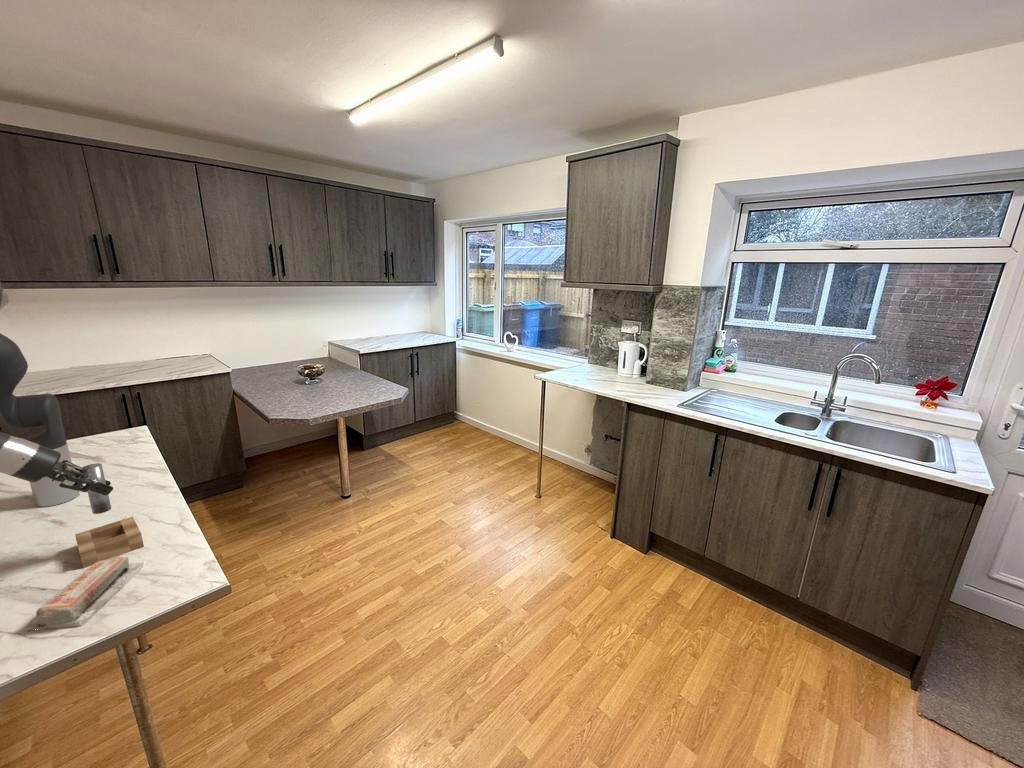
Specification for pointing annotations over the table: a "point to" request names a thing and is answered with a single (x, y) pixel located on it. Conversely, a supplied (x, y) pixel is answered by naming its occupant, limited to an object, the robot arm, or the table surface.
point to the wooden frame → (108, 541)
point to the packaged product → (86, 594)
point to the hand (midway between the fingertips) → (108, 488)
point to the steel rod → (97, 500)
